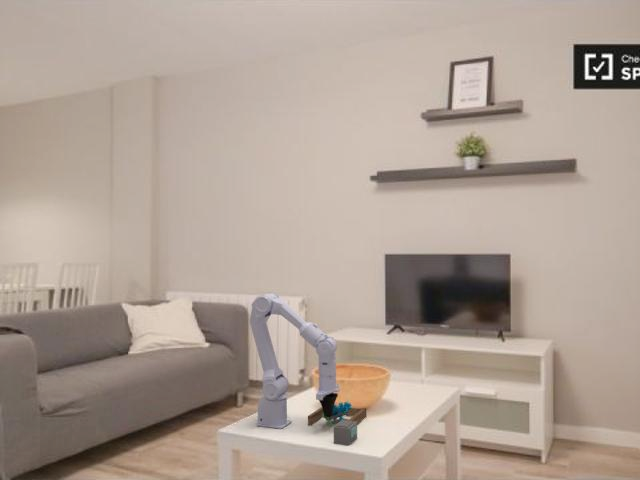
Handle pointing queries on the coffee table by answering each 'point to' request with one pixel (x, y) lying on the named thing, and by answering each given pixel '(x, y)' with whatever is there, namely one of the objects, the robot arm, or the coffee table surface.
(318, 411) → the frame
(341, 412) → the blue green toy construction
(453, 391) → the coffee table surface
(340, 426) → the block
